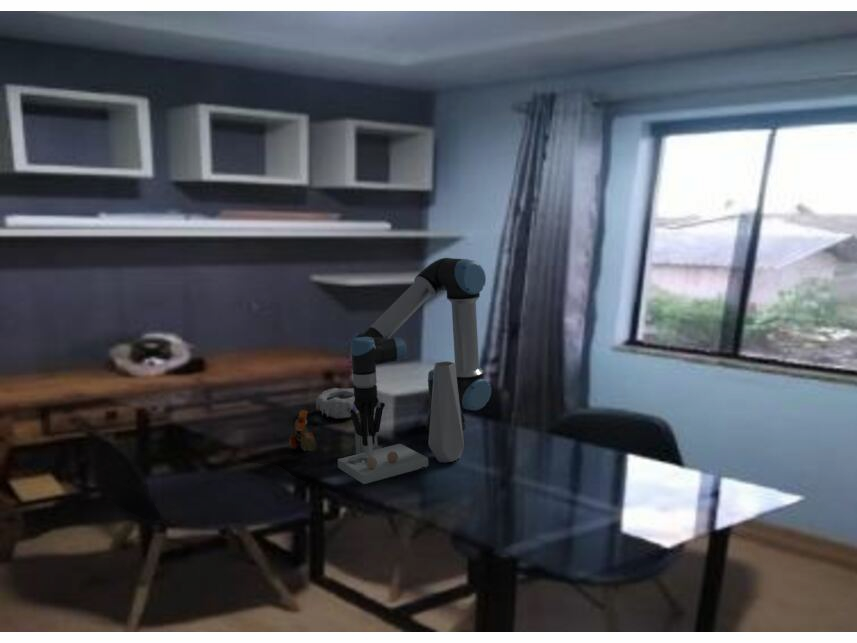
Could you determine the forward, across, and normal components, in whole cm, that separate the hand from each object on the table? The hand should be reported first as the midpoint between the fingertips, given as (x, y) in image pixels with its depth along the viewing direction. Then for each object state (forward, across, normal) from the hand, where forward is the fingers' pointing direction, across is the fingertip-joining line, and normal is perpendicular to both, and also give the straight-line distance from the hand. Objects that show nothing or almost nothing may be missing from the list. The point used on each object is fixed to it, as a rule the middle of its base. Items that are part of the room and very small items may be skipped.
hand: (369, 454), depth 257 cm
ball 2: (0, -4, +8) cm, 9 cm away
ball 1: (0, +4, +8) cm, 9 cm away
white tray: (+4, -3, +3) cm, 6 cm away
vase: (+5, -24, +11) cm, 27 cm away
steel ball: (+3, +3, 0) cm, 4 cm away
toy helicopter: (+5, +11, -27) cm, 29 cm away
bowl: (+5, -18, -57) cm, 60 cm away
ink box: (+5, -5, -12) cm, 14 cm away
